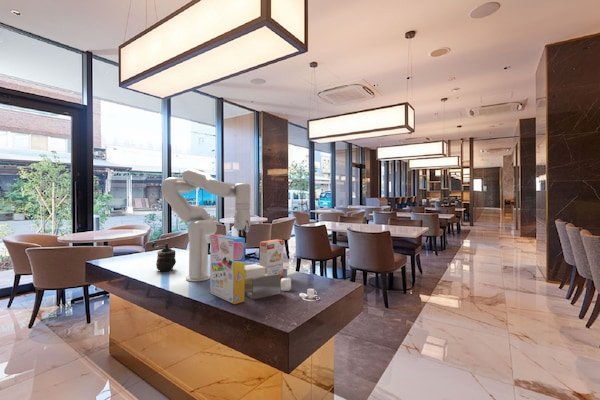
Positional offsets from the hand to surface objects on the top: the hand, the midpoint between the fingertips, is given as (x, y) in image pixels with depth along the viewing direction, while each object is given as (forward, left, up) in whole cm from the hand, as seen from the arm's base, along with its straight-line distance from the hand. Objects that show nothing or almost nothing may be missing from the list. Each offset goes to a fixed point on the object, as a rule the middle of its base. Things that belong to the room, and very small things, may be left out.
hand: (242, 242), depth 153 cm
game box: (+16, -15, -21) cm, 31 cm away
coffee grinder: (-51, -26, -21) cm, 61 cm away
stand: (+15, 0, -21) cm, 26 cm away
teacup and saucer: (+35, +16, -22) cm, 44 cm away
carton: (+10, 0, -15) cm, 18 cm away
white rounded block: (+21, +13, -21) cm, 33 cm away
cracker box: (0, +18, -21) cm, 28 cm away
